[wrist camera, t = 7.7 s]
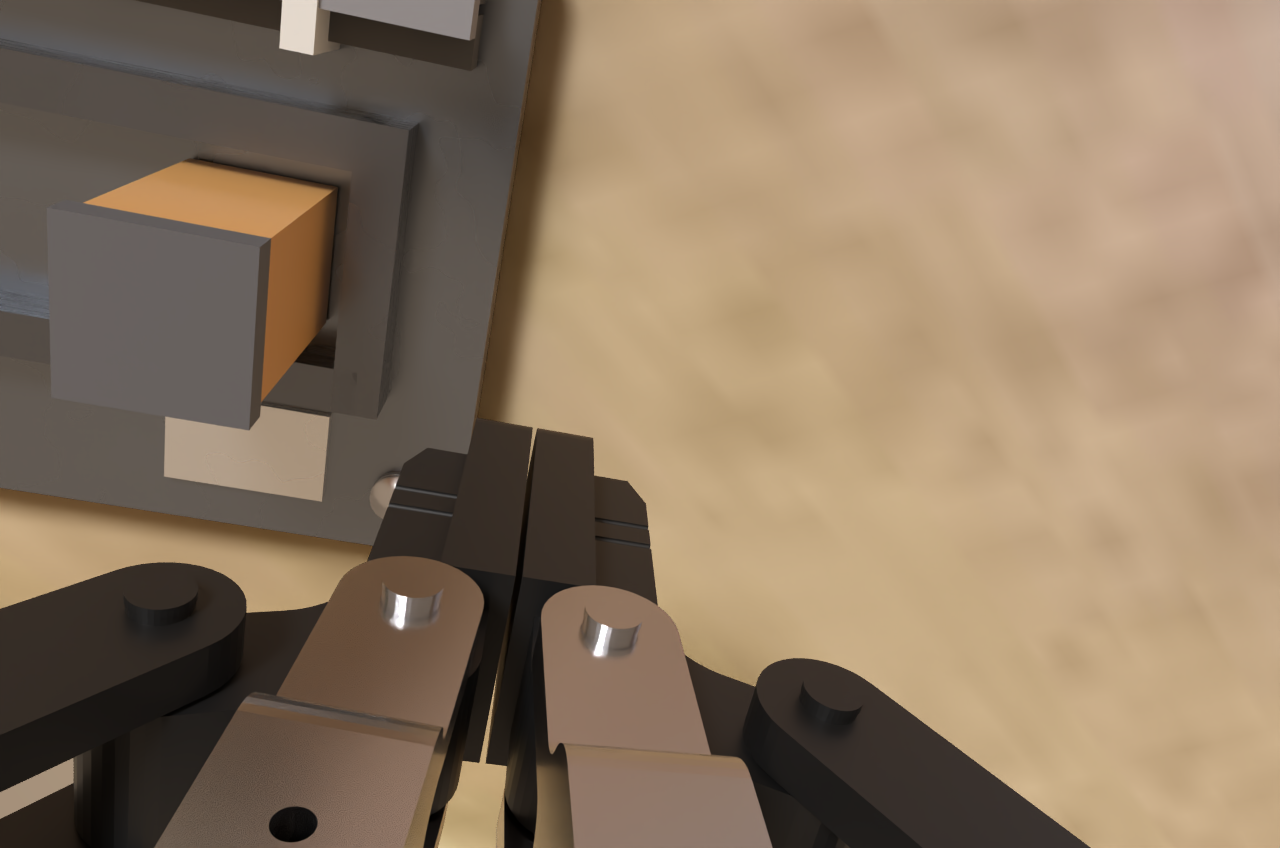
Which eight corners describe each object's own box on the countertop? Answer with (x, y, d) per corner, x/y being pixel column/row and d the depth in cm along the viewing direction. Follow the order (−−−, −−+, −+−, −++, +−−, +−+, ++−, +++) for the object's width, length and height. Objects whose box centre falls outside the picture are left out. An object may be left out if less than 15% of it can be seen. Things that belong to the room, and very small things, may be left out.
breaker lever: (342, 183, 21) (259, 246, 16) (330, 328, 22) (248, 430, 17) (185, 152, 21) (46, 207, 15) (180, 301, 22) (51, 398, 17)
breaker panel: (550, -60, 21) (543, -65, 18) (460, 527, 26) (445, 584, 24) (-409, -278, 19) (-563, -318, 16) (-293, 408, 24) (-396, 456, 22)
